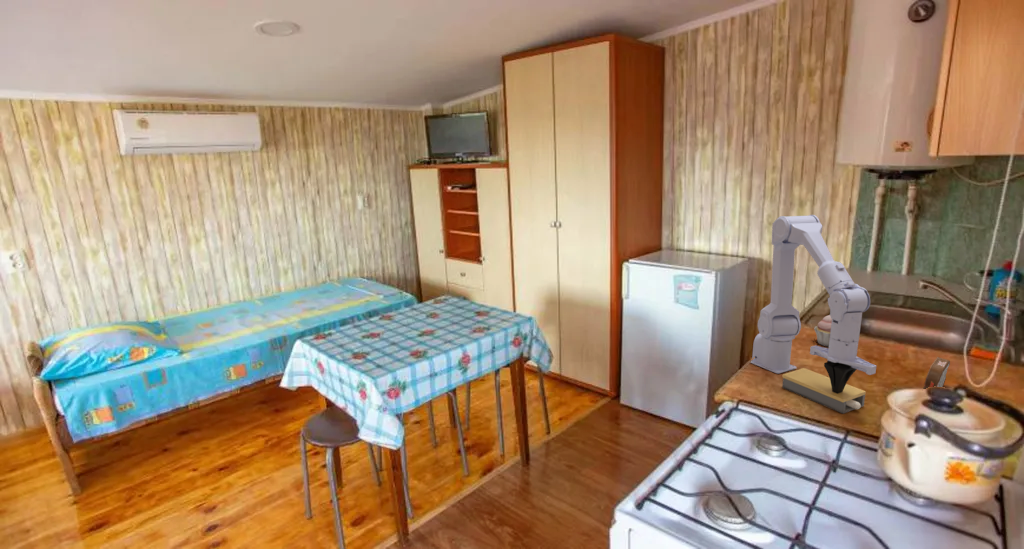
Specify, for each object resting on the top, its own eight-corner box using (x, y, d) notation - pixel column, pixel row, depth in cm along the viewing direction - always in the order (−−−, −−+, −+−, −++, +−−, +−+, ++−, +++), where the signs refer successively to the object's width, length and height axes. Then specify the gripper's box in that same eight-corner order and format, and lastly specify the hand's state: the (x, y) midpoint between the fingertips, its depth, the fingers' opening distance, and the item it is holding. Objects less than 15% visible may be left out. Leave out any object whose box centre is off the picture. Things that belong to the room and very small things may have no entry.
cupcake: (850, 344, 165) (854, 313, 163) (840, 351, 159) (844, 320, 157) (818, 336, 172) (821, 307, 170) (807, 344, 166) (810, 314, 164)
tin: (932, 382, 138) (937, 352, 136) (947, 385, 135) (952, 355, 133) (919, 401, 128) (924, 369, 126) (935, 405, 125) (941, 372, 124)
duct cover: (782, 377, 136) (782, 374, 136) (803, 370, 139) (804, 367, 139) (843, 402, 122) (843, 399, 122) (865, 394, 125) (865, 391, 125)
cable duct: (780, 386, 137) (781, 376, 136) (800, 380, 140) (802, 370, 140) (848, 416, 121) (850, 404, 121) (869, 408, 125) (871, 396, 124)
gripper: (804, 331, 127) (798, 383, 130) (865, 351, 114) (857, 408, 117) (823, 327, 130) (817, 377, 133) (884, 345, 117) (876, 400, 120)
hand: (837, 391), depth 125 cm, fingers closed
